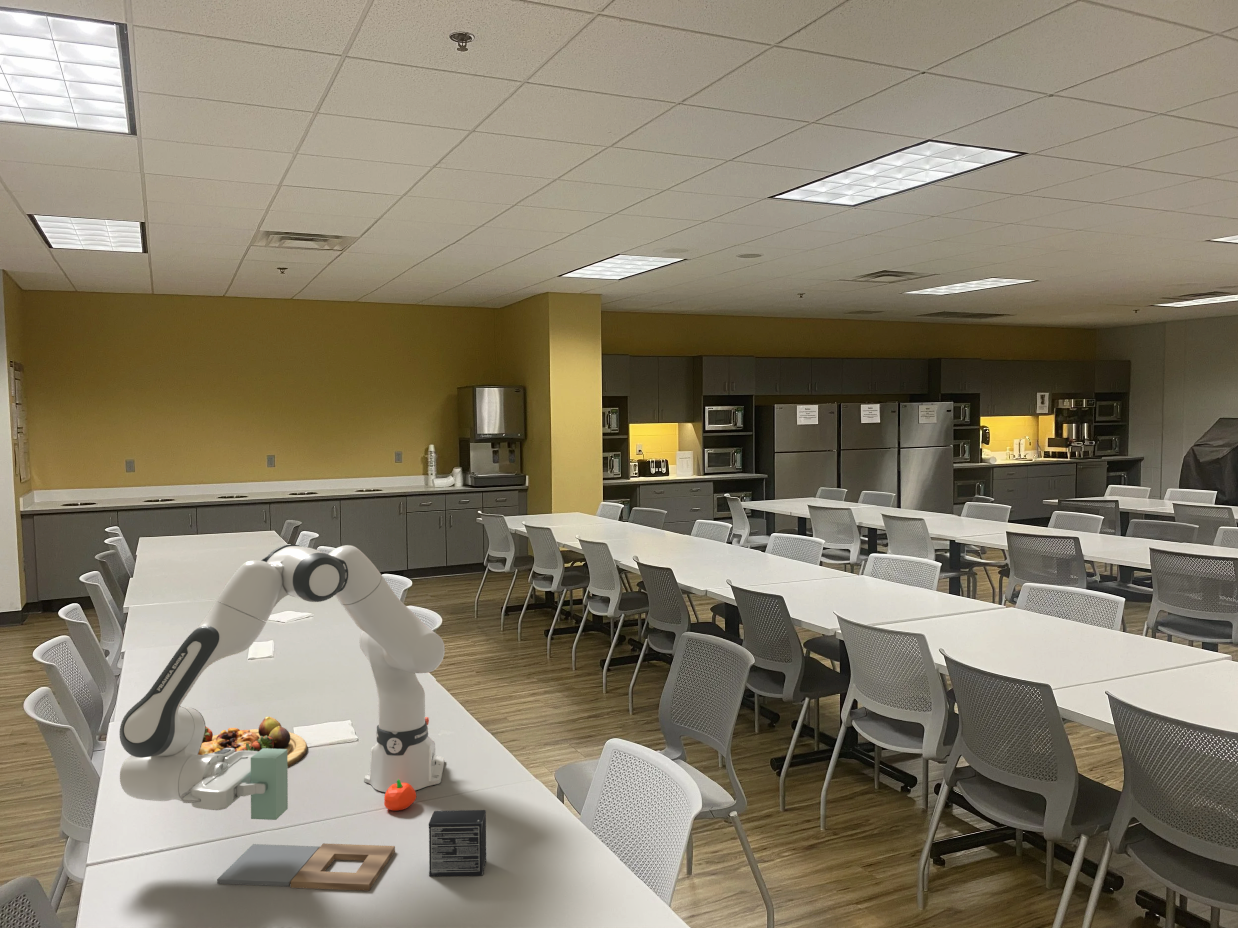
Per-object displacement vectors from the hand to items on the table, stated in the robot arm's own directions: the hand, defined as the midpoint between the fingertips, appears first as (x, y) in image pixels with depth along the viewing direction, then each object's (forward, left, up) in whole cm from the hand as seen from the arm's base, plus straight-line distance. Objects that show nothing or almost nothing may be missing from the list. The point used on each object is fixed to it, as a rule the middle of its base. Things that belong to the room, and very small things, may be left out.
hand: (273, 780), depth 170 cm
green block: (0, -1, -6) cm, 7 cm away
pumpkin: (-28, +16, -17) cm, 37 cm away
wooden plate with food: (-55, -35, -18) cm, 67 cm away
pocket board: (0, +14, -17) cm, 22 cm away
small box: (-2, +36, -17) cm, 40 cm away
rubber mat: (0, -1, -17) cm, 17 cm away
